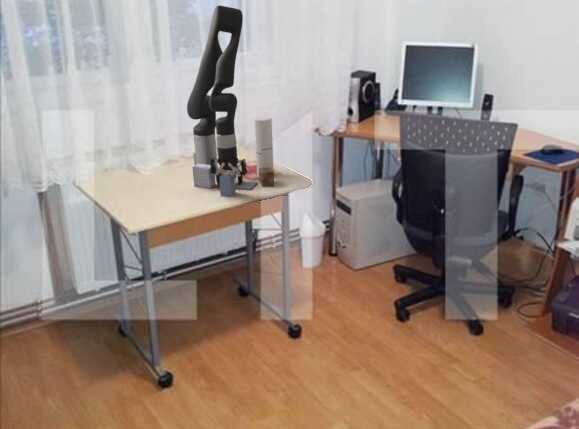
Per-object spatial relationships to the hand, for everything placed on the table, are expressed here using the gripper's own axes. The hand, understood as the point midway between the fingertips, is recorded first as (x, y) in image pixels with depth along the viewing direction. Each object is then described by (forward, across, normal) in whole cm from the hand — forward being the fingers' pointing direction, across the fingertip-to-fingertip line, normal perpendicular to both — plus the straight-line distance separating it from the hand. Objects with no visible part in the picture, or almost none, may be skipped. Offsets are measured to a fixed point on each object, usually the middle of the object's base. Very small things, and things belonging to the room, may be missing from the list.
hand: (229, 184), depth 254 cm
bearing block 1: (+4, -6, +10) cm, 12 cm away
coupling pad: (+4, +3, +10) cm, 11 cm away
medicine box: (+4, -14, +7) cm, 16 cm away
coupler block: (+4, -1, 0) cm, 4 cm away
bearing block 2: (+4, +11, +14) cm, 18 cm away
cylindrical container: (+4, +7, +24) cm, 25 cm away
